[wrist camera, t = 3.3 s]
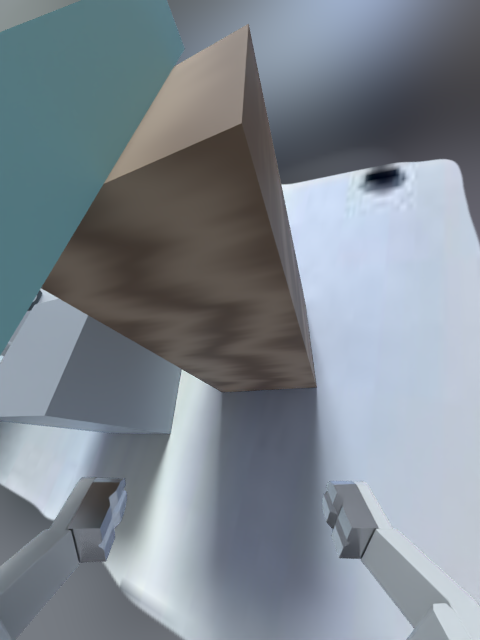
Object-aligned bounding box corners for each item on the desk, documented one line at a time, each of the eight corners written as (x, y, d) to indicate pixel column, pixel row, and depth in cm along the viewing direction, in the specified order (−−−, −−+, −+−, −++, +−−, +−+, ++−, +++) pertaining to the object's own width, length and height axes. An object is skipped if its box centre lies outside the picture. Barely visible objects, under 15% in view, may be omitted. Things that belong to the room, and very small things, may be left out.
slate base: (111, 433, 33) (-33, 417, 20) (134, 355, 39) (34, 304, 26) (170, 433, 30) (44, 415, 17) (184, 349, 36) (99, 288, 23)
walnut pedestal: (222, 392, 30) (-36, 244, 9) (227, 315, 36) (79, 121, 15) (316, 387, 27) (241, 123, 6) (305, 302, 33) (248, 23, 12)
